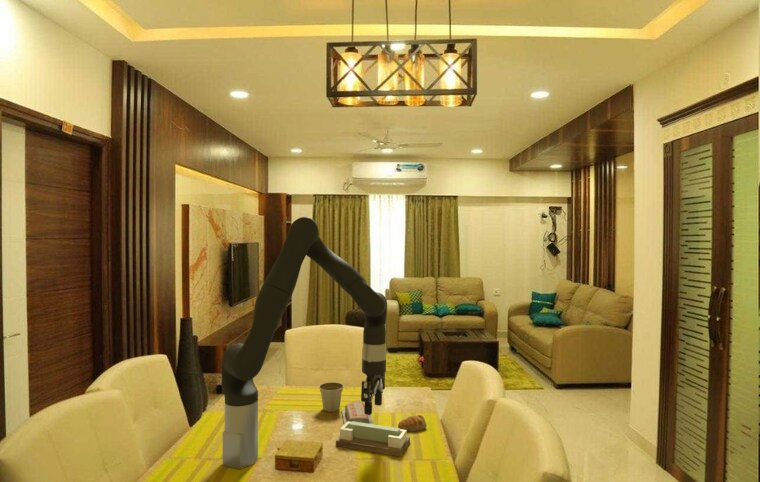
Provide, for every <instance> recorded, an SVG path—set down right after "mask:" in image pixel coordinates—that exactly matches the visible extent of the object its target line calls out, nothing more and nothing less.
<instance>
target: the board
mask: <svg viewBox="0 0 760 482" xmlns="http://www.w3.org/2000/svg"><path fill="white" fill-rule="evenodd" d="M410 443H411V438H410V437H409V436H407V440H406V442H405V443H404V445H403V446H402V447H401V449H400V448H394V447H388V443H385V442H379V441H373V440H366V439H360V438H354V437H353V439H352V440H346V439H340V436H339V437H338V438H337V439H336V440H335V446H337V447H342V448H348V449H354V450H360V451H366V452H367V451H368V452H372V453H378V454H383V455H384V454H385V455H391V456H396V457H401V456H402V455H403V453H404V452H405V451H406V449H407V447H408V446H409V444H410Z"/></svg>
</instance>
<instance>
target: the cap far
mask: <svg viewBox="0 0 760 482" xmlns="http://www.w3.org/2000/svg"><path fill="white" fill-rule="evenodd" d="M350 423H351V422H350V421H348V422H347V423H346V424H344V423H343V425H342V426H341V427H340V428H339V437H340V439H346V440H352V439H353V429H349V424H350Z"/></svg>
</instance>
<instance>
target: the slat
mask: <svg viewBox="0 0 760 482" xmlns="http://www.w3.org/2000/svg"><path fill="white" fill-rule="evenodd" d="M349 429H353V437H354V438H360V439H366V440H373V441H379V442H385V443H388V436H389V435H393V436H399V435H400V428H398V427H395V426H394V427H393V426H387V425H386V426H385V425H382V424H381V425H379V424H375V423H374V424H367V423H361V422H354V421H352V422H351V423H350V424H349Z"/></svg>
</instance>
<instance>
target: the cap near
mask: <svg viewBox="0 0 760 482" xmlns="http://www.w3.org/2000/svg"><path fill="white" fill-rule="evenodd" d="M407 433H408V431H407V430H403V429H400V435H399V436H393V435H389V436H388V447H394V448H400V449H401V447H402V446H403V445H404V443H405V442H406V440H407V437H408V435H407Z"/></svg>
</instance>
